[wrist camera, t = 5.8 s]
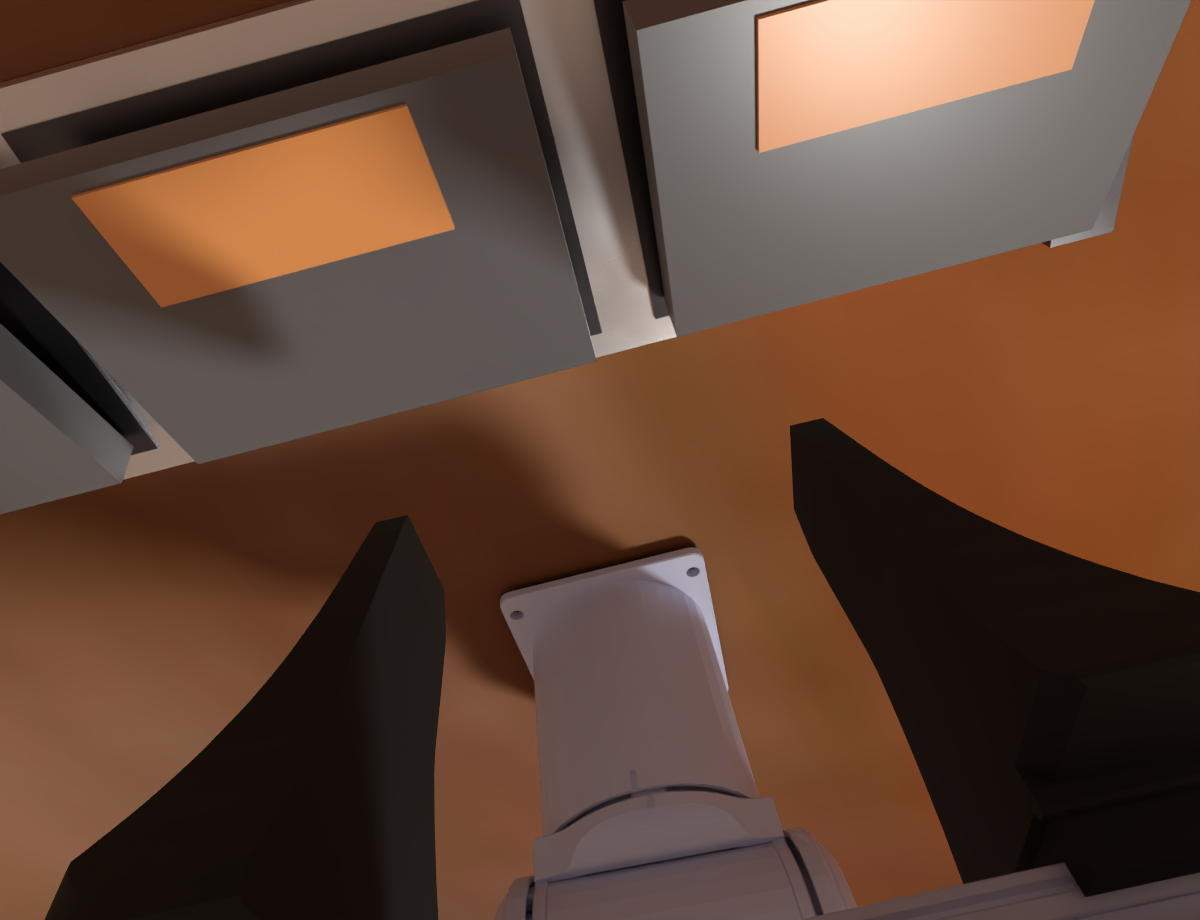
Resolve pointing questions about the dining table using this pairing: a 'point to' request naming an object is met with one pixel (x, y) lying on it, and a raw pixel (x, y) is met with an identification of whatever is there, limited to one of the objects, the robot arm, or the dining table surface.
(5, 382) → the panel
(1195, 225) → the dining table surface
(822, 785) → the dining table surface
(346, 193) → the rocker
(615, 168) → the grey switch panel
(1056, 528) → the dining table surface
